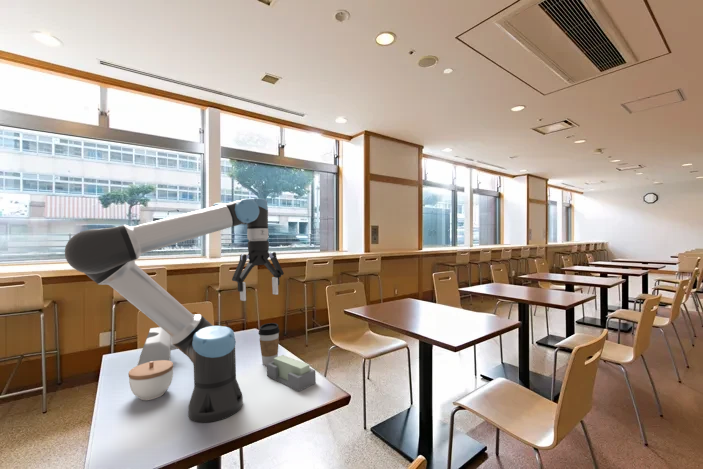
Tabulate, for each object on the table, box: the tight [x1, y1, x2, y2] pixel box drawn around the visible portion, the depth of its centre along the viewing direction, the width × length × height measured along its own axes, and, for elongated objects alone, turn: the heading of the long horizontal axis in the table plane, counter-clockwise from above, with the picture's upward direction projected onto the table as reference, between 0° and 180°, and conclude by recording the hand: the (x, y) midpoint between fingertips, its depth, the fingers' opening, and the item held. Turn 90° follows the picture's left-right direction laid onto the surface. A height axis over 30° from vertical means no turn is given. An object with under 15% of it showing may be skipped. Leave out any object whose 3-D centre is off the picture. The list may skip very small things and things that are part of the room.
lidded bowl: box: [128, 360, 174, 401], centre depth 107 cm, size 13×13×11 cm
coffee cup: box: [258, 322, 281, 366], centre depth 131 cm, size 8×8×15 cm
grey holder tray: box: [266, 361, 317, 392], centre depth 115 cm, size 8×18×4 cm, turn 48°
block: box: [274, 354, 311, 380], centre depth 115 cm, size 15×4×6 cm, turn 50°
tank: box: [136, 326, 179, 366], centre depth 133 cm, size 25×16×12 cm, turn 28°
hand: (259, 297), depth 120 cm, fingers open, 13 cm apart
